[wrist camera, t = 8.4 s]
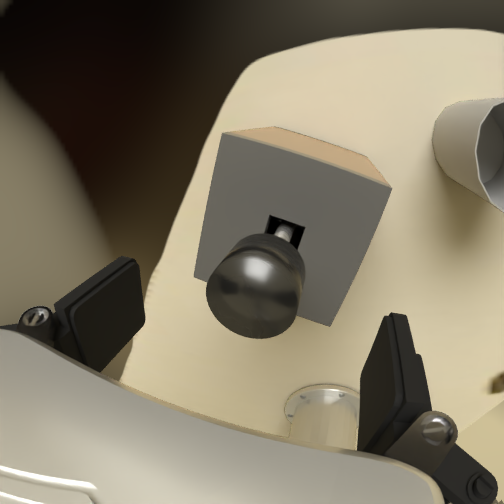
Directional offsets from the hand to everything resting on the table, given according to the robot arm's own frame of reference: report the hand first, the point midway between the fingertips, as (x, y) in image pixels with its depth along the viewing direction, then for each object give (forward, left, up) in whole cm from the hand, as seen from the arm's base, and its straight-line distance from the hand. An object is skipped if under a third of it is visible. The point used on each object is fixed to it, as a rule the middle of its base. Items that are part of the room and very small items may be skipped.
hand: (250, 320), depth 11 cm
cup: (+10, -14, -21) cm, 27 cm away
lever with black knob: (0, 0, -17) cm, 17 cm away
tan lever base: (-1, 0, -21) cm, 21 cm away
